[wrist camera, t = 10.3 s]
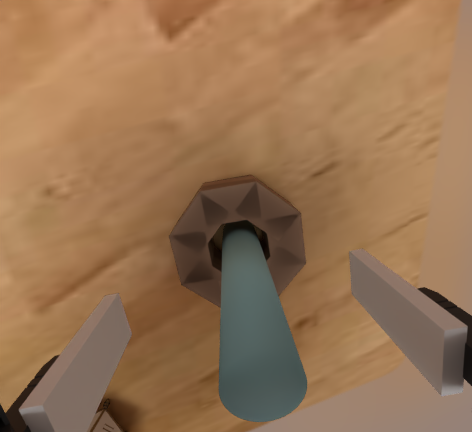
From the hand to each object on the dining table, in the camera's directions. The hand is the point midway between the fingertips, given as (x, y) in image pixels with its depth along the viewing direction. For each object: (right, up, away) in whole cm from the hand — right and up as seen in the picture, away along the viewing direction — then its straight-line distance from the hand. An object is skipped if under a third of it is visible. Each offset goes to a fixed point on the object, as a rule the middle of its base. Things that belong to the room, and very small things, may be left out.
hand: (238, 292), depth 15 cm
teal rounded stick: (0, +3, +9) cm, 10 cm away
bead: (0, +3, +9) cm, 10 cm away
